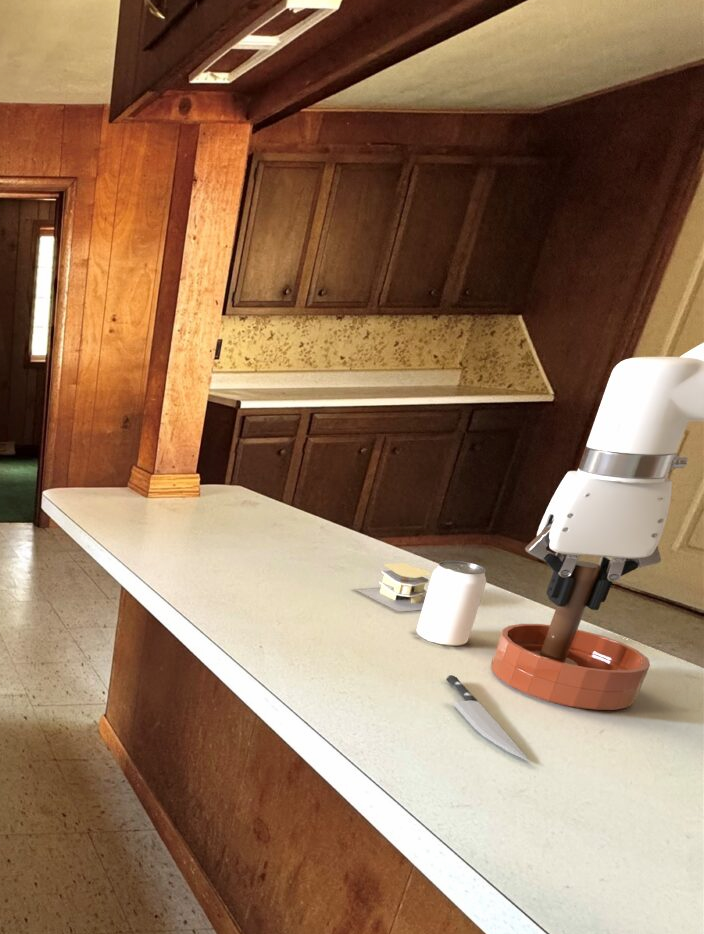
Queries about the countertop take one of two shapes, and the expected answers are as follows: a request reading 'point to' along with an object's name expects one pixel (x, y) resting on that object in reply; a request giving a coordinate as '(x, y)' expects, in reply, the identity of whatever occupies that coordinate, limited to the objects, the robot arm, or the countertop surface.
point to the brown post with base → (570, 614)
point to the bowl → (570, 668)
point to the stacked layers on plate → (400, 587)
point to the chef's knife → (483, 719)
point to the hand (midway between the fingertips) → (572, 603)
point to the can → (451, 603)
